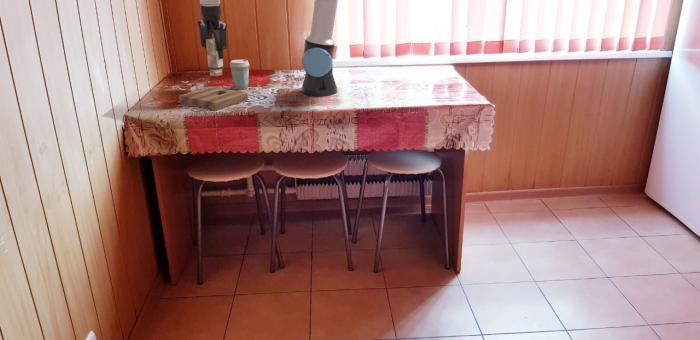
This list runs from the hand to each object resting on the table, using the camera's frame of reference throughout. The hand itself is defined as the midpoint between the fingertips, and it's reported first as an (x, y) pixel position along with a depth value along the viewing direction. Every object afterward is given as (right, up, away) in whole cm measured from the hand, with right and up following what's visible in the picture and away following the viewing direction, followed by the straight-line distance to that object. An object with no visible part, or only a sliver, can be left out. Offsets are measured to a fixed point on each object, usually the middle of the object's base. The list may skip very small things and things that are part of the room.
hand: (215, 65), depth 205 cm
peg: (0, -3, +1) cm, 4 cm away
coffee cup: (+5, -5, +24) cm, 25 cm away
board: (-1, -14, +3) cm, 14 cm away
